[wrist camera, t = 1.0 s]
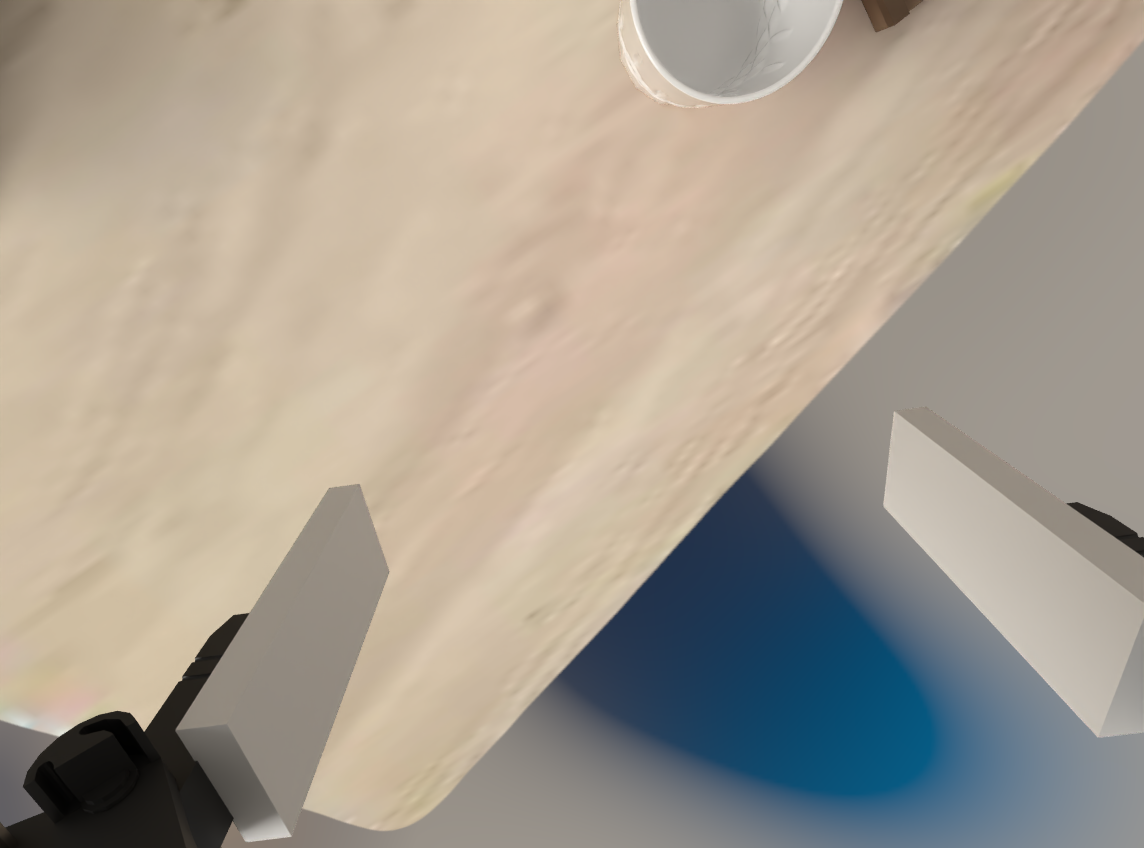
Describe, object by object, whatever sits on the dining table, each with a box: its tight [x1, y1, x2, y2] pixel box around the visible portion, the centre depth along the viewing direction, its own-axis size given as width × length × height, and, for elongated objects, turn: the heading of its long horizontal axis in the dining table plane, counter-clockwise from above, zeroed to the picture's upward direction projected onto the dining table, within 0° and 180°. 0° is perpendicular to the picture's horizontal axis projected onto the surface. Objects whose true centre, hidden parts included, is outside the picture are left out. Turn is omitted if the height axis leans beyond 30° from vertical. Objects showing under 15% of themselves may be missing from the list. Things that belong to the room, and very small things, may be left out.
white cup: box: [617, 0, 843, 108], centre depth 25 cm, size 8×8×10 cm
